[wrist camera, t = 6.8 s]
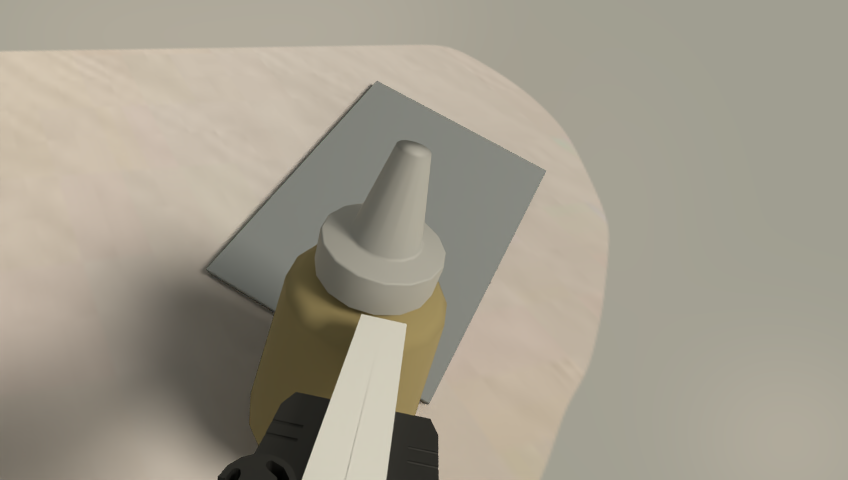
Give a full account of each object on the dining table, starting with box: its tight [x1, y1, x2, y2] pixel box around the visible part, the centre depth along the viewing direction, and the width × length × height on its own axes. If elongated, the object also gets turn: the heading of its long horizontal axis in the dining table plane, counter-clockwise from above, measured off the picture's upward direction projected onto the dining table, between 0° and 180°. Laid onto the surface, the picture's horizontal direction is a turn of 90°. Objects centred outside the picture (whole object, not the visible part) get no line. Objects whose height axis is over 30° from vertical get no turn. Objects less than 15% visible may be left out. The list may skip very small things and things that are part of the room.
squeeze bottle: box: [249, 140, 447, 446], centre depth 19 cm, size 8×8×18 cm
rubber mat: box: [207, 81, 546, 404], centre depth 32 cm, size 16×21×1 cm
